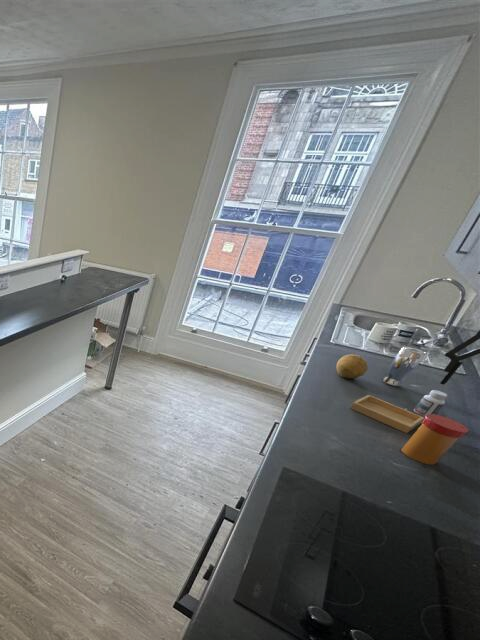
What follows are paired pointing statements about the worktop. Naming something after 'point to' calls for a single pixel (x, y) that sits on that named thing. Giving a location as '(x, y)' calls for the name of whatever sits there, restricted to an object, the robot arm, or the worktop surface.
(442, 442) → the jam jar
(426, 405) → the pill bottle
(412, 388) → the worktop surface
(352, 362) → the potato
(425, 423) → the lid
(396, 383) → the beer glass
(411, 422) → the tray
